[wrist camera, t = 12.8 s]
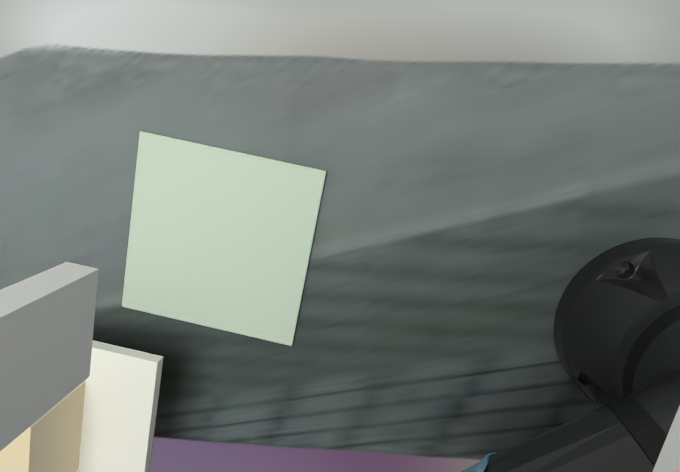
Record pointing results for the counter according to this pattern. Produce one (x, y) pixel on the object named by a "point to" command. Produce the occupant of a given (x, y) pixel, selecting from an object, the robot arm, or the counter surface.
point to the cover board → (96, 419)
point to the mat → (220, 237)
